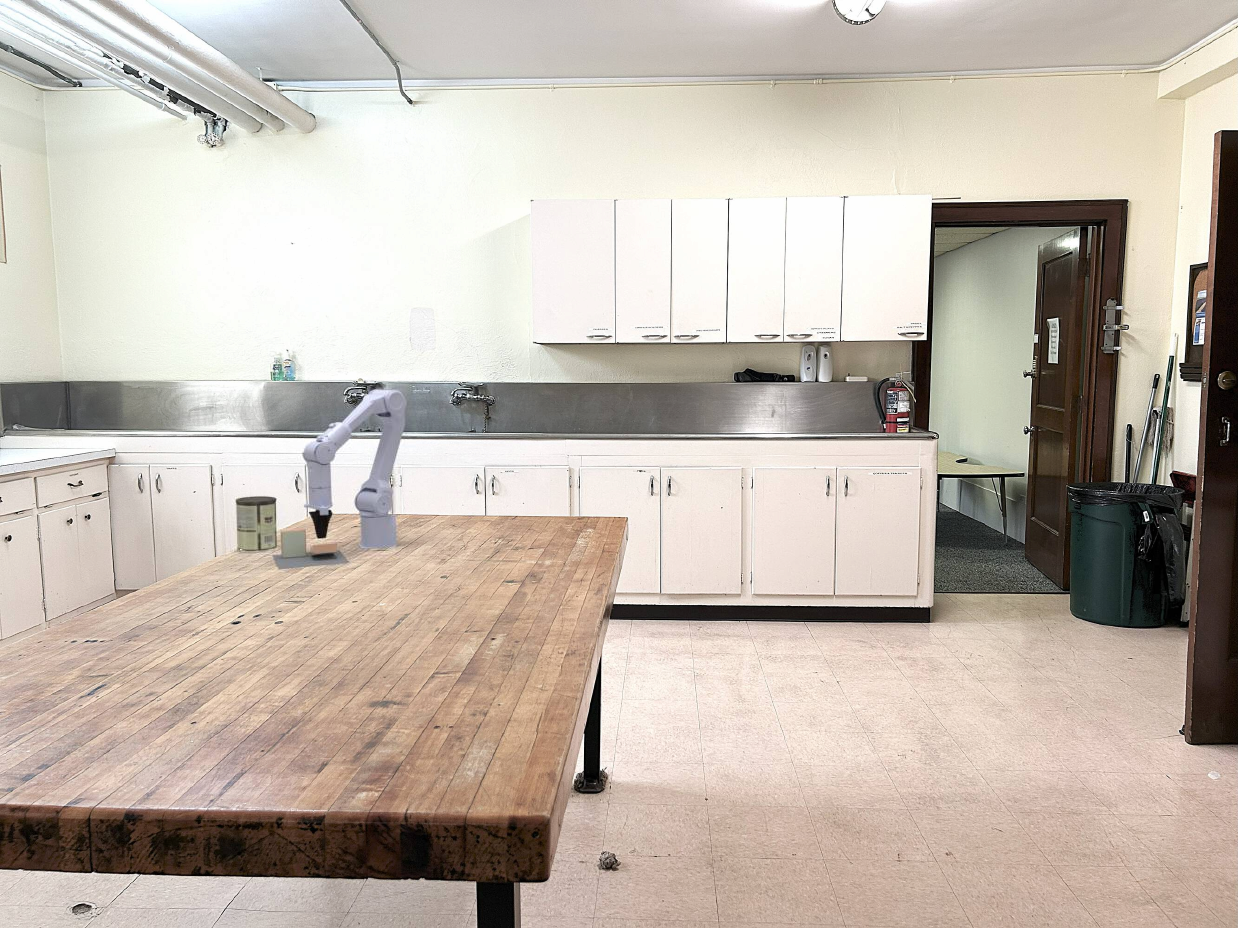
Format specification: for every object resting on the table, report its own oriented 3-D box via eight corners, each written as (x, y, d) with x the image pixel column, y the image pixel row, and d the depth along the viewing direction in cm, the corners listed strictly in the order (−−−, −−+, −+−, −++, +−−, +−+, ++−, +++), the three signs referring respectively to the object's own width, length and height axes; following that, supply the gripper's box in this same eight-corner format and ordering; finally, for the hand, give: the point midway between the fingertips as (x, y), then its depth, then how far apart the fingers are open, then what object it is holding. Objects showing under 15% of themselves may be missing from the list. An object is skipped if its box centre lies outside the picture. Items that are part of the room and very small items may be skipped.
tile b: (281, 556, 231) (280, 530, 231) (305, 554, 234) (304, 528, 233) (282, 558, 229) (281, 532, 229) (306, 556, 232) (305, 530, 231)
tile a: (309, 548, 233) (313, 545, 227) (333, 546, 236) (337, 543, 229) (310, 556, 233) (313, 553, 226) (334, 554, 235) (337, 551, 229)
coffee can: (247, 545, 247) (246, 495, 246) (283, 546, 247) (282, 496, 246) (229, 552, 237) (228, 500, 236) (266, 554, 237) (266, 502, 235)
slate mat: (338, 550, 241) (338, 549, 241) (349, 564, 225) (349, 562, 225) (272, 556, 234) (272, 555, 234) (278, 570, 218) (278, 569, 218)
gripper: (300, 484, 237) (302, 534, 239) (307, 491, 224) (309, 544, 226) (328, 483, 240) (329, 532, 242) (336, 489, 227) (337, 541, 229)
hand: (321, 538), depth 234 cm, fingers closed
